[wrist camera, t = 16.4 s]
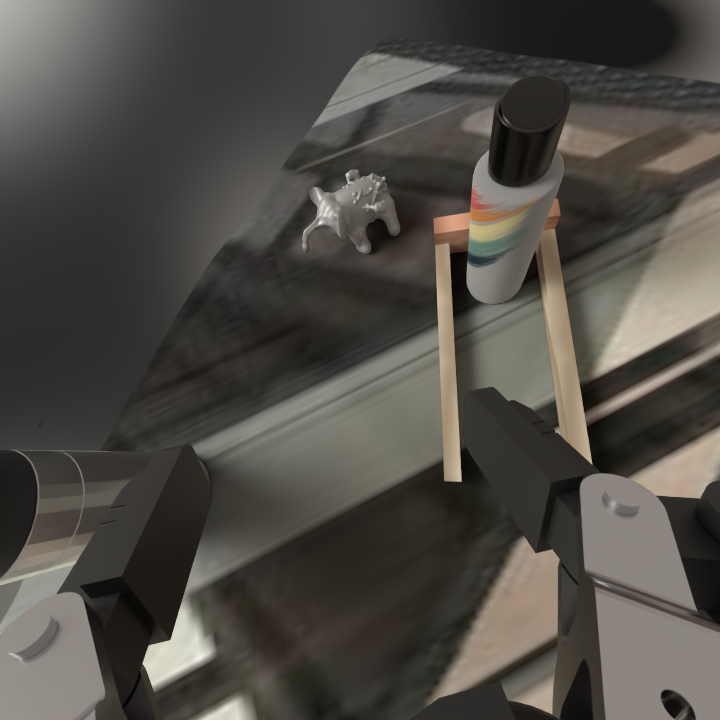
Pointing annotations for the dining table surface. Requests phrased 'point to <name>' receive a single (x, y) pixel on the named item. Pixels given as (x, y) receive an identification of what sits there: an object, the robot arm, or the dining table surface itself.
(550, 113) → the lotion bottle
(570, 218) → the dining table surface
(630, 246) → the dining table surface
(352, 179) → the elephant statuette
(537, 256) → the guide lane
